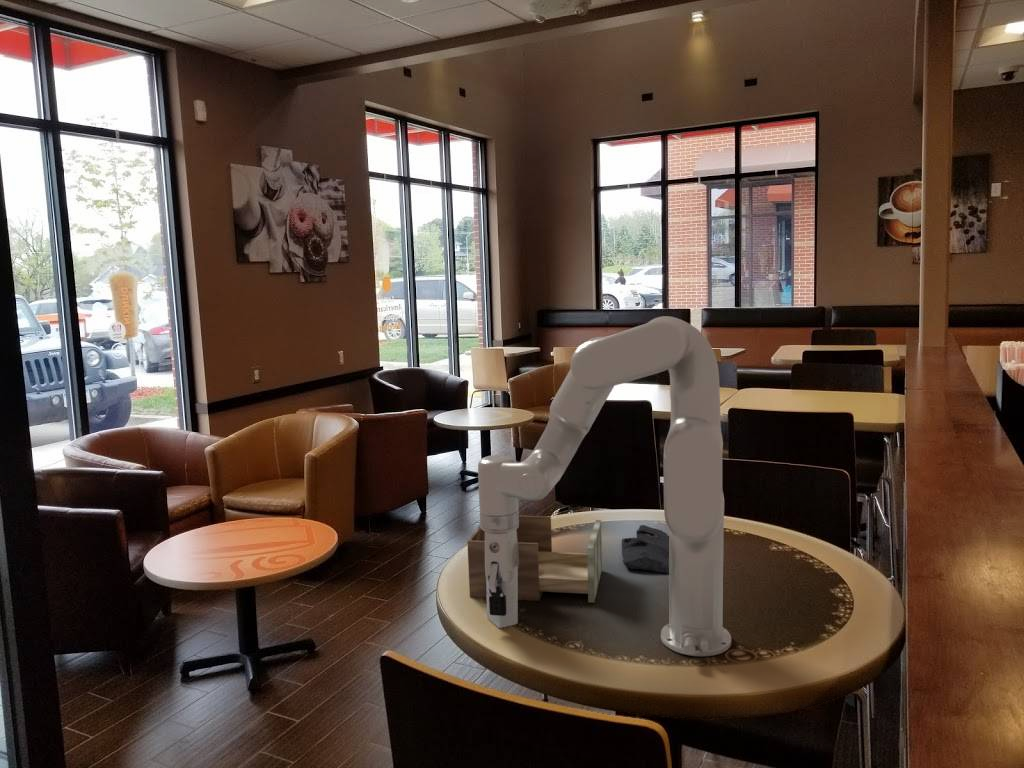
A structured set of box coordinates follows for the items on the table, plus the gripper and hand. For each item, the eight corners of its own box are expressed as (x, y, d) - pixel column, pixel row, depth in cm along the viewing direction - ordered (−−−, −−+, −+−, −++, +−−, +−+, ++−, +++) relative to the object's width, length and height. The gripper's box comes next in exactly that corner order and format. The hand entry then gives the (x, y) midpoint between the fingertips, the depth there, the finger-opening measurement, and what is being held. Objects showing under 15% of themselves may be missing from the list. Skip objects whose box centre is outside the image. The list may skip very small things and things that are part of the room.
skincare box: (485, 617, 152) (483, 559, 150) (505, 612, 154) (503, 555, 152) (499, 629, 147) (497, 569, 145) (520, 624, 149) (518, 565, 147)
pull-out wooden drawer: (594, 602, 156) (593, 548, 155) (522, 598, 160) (520, 545, 158) (601, 569, 174) (601, 519, 172) (537, 566, 177) (536, 517, 175)
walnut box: (539, 600, 159) (537, 544, 157) (469, 596, 162) (467, 541, 160) (552, 568, 176) (550, 516, 175) (489, 565, 179) (487, 514, 178)
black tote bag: (613, 573, 173) (613, 553, 173) (623, 540, 194) (622, 522, 194) (682, 577, 170) (681, 557, 169) (684, 543, 191) (684, 525, 190)
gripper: (508, 535, 138) (512, 627, 141) (526, 506, 155) (529, 589, 158) (469, 533, 140) (472, 624, 142) (490, 505, 157) (494, 587, 159)
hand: (502, 605), depth 150 cm, fingers closed on skincare box, 7 cm apart
